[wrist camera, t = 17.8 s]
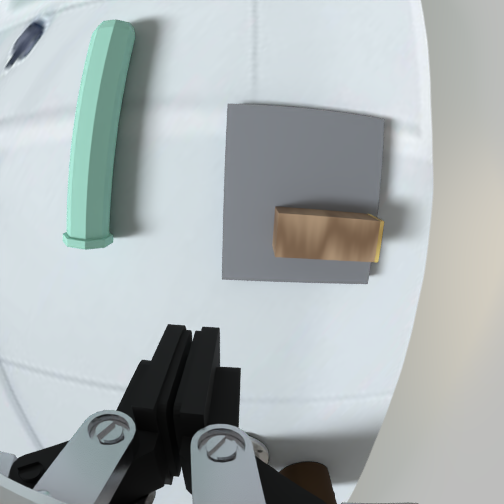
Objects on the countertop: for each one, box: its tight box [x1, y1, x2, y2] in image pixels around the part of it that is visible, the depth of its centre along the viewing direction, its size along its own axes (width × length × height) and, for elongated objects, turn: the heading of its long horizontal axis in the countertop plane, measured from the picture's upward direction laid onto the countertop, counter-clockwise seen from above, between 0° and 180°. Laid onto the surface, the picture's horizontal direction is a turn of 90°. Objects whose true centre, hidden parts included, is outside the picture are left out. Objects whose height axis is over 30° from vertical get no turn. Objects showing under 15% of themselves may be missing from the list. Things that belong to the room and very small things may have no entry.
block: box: [272, 207, 384, 262], centre depth 31 cm, size 4×4×10 cm
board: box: [222, 104, 384, 284], centre depth 33 cm, size 18×16×2 cm
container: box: [63, 20, 135, 249], centre depth 29 cm, size 6×6×25 cm
